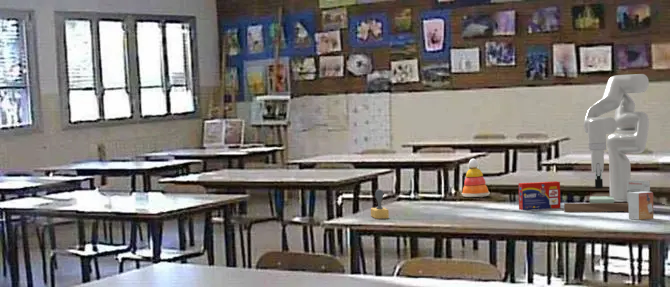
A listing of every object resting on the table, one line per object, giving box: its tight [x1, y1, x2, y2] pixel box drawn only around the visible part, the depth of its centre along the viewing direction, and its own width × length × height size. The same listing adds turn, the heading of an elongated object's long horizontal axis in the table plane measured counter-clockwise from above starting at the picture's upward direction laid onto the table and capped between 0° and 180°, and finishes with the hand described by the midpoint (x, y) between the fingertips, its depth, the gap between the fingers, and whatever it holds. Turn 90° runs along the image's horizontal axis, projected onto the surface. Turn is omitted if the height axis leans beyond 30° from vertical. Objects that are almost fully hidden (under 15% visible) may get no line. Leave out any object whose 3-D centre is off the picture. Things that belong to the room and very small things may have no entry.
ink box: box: [626, 179, 651, 203], centre depth 425 cm, size 8×5×12 cm, turn 39°
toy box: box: [518, 181, 562, 211], centre depth 430 cm, size 18×4×12 cm, turn 104°
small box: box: [628, 191, 654, 221], centre depth 382 cm, size 8×6×10 cm
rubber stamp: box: [370, 188, 390, 220], centre depth 415 cm, size 10×6×12 cm, turn 10°
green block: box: [589, 195, 615, 203], centre depth 418 cm, size 12×10×6 cm
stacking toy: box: [461, 158, 491, 198], centre depth 495 cm, size 14×14×20 cm
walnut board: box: [563, 202, 629, 213], centre depth 412 cm, size 2×28×4 cm, turn 75°
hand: (599, 188), depth 432 cm, fingers closed
